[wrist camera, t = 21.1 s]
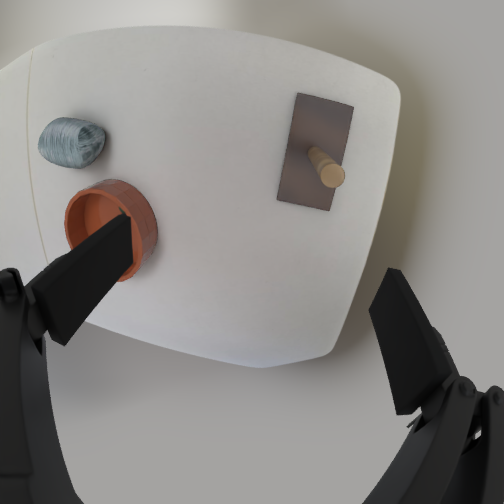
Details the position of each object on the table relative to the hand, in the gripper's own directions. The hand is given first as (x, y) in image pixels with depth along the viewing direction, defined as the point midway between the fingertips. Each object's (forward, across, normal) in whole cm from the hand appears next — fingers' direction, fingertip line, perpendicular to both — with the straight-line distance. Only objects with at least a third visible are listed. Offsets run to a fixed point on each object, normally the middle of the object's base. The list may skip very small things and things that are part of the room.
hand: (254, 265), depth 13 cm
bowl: (+29, -27, -15) cm, 42 cm away
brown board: (+29, +5, +3) cm, 29 cm away
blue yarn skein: (+29, -35, +1) cm, 45 cm away
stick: (+27, +5, +3) cm, 28 cm away
